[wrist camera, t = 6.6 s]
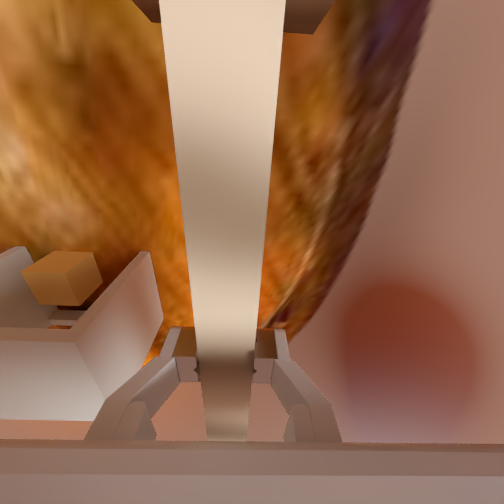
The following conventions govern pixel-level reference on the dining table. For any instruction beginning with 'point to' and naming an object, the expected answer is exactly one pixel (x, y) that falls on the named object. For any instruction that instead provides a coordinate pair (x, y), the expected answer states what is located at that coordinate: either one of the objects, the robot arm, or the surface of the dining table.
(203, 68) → the pale grey hook
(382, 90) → the dining table surface
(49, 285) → the ochre cube
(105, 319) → the cubby
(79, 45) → the dining table surface
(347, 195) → the dining table surface
